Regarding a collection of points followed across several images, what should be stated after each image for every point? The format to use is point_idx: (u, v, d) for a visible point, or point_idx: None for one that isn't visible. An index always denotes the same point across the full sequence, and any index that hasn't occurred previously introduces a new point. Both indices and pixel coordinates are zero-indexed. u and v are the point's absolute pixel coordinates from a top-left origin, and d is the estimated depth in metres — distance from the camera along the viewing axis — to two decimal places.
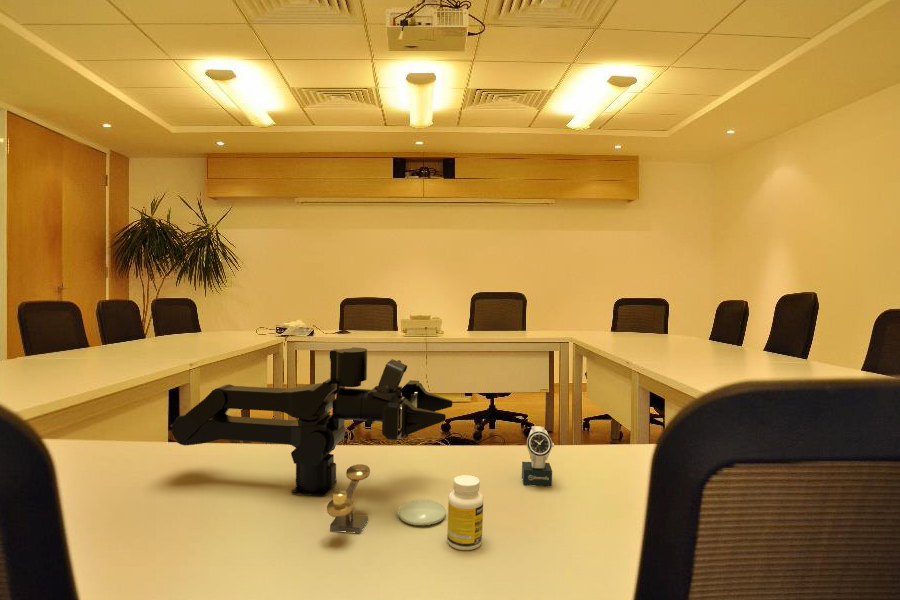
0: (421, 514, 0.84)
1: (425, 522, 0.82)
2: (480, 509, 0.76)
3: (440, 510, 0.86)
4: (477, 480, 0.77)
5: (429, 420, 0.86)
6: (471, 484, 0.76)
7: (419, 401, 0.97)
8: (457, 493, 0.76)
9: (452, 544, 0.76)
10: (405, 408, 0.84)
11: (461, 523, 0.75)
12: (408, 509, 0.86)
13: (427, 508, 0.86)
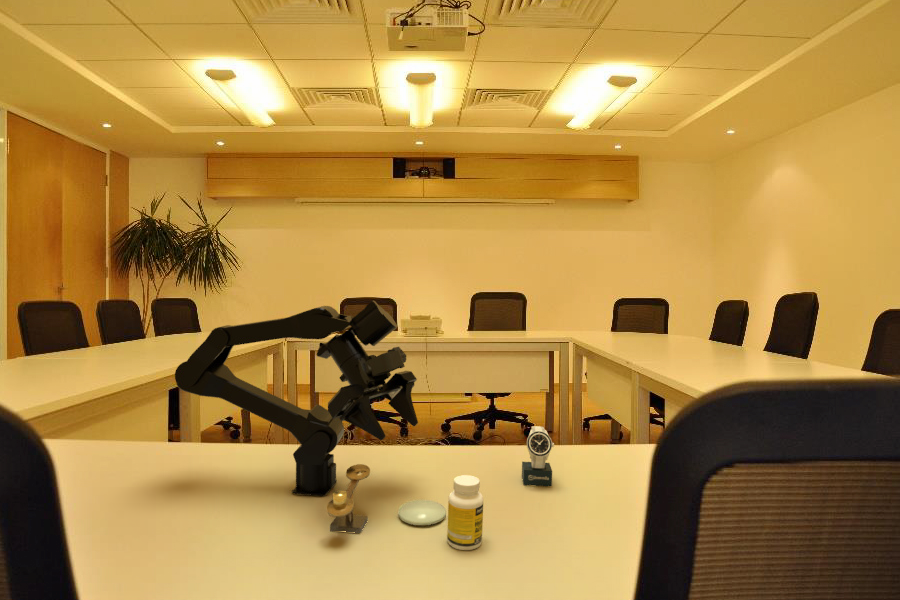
0: (421, 514, 0.84)
1: (425, 522, 0.82)
2: (480, 509, 0.76)
3: (440, 510, 0.86)
4: (477, 480, 0.77)
5: (370, 428, 0.84)
6: (471, 484, 0.76)
7: (397, 396, 0.94)
8: (457, 493, 0.76)
9: (452, 544, 0.76)
10: (356, 404, 0.83)
11: (461, 523, 0.75)
12: (408, 509, 0.86)
13: (427, 508, 0.86)
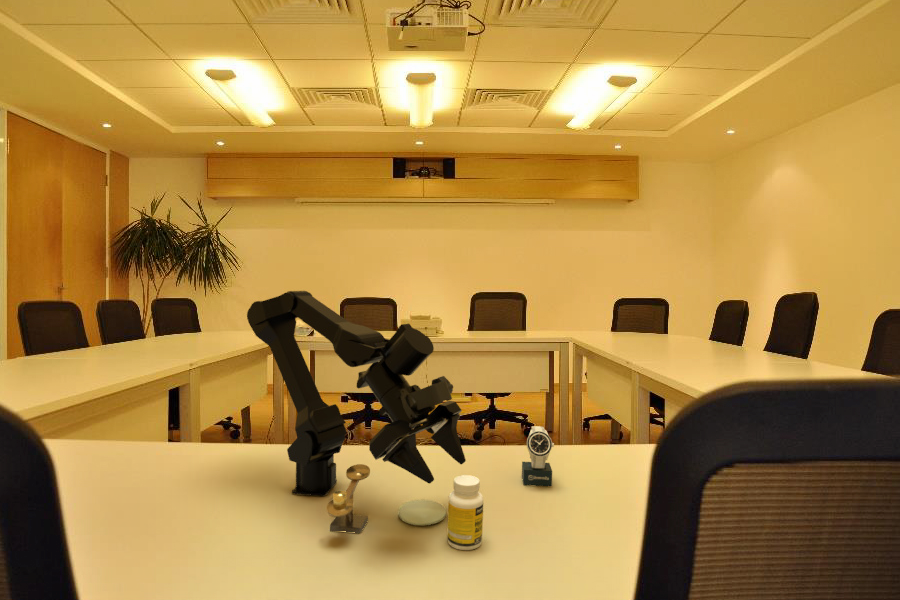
0: (421, 514, 0.84)
1: (425, 522, 0.82)
2: (480, 509, 0.76)
3: (440, 510, 0.86)
4: (477, 480, 0.77)
5: (416, 470, 0.75)
6: (471, 484, 0.76)
7: (441, 430, 0.86)
8: (457, 493, 0.76)
9: (452, 544, 0.76)
10: (402, 444, 0.74)
11: (461, 523, 0.75)
12: (408, 509, 0.86)
13: (427, 508, 0.86)
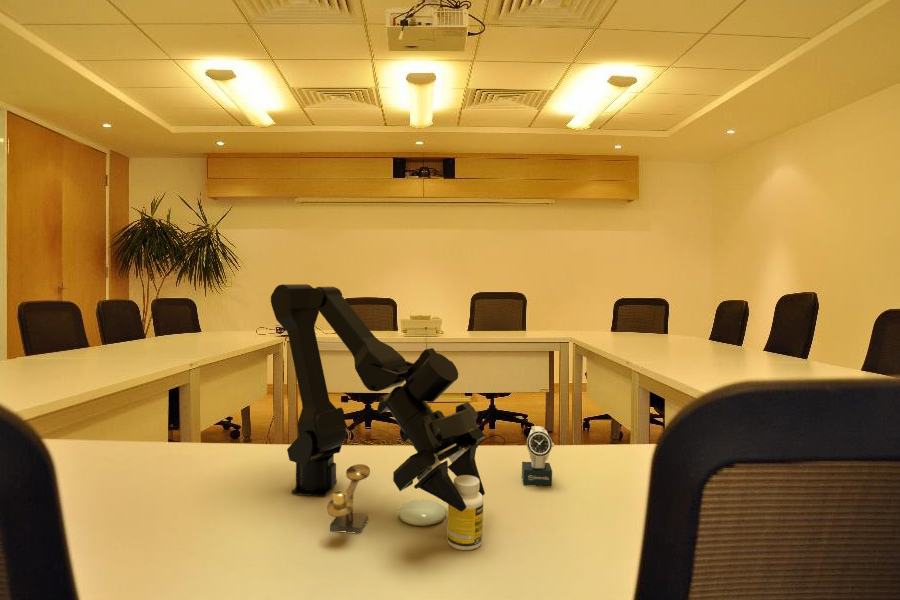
0: (421, 514, 0.84)
1: (425, 522, 0.82)
2: (480, 509, 0.76)
3: (440, 510, 0.86)
4: (477, 480, 0.77)
5: (448, 497, 0.75)
6: (471, 484, 0.76)
7: (459, 460, 0.82)
8: None
9: (452, 544, 0.76)
10: (434, 472, 0.73)
11: (461, 523, 0.75)
12: (408, 509, 0.86)
13: (427, 508, 0.86)
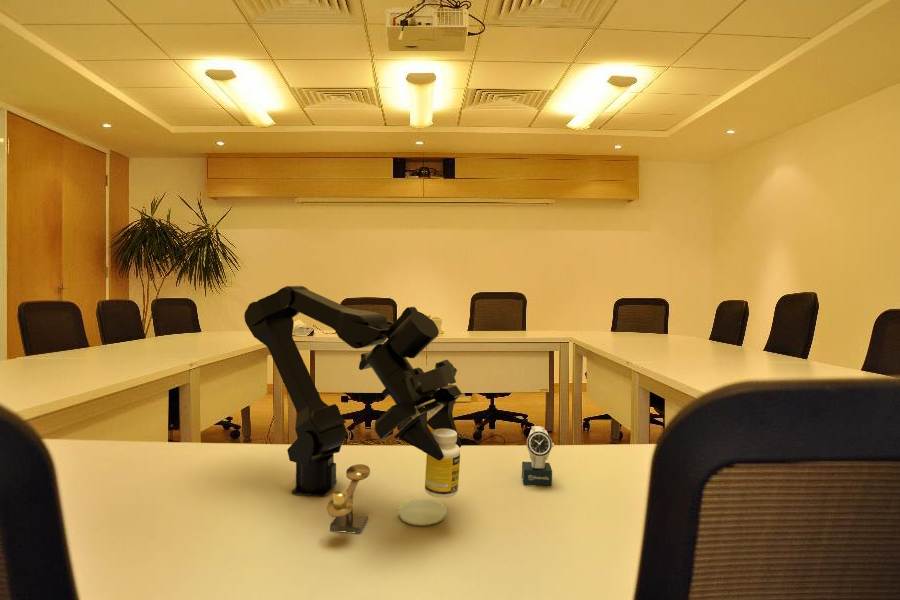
0: (421, 514, 0.84)
1: (425, 522, 0.82)
2: (457, 459, 0.80)
3: (440, 510, 0.86)
4: (455, 432, 0.81)
5: (427, 447, 0.78)
6: (449, 435, 0.79)
7: (437, 415, 0.85)
8: None
9: (430, 492, 0.79)
10: (414, 422, 0.76)
11: (438, 472, 0.79)
12: (408, 509, 0.86)
13: (427, 508, 0.86)
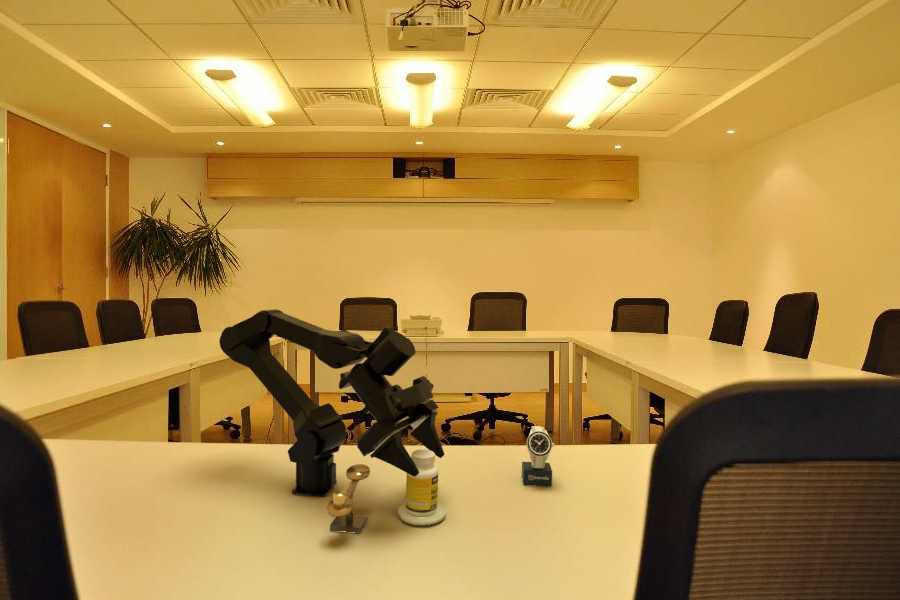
0: None
1: (425, 522, 0.82)
2: (436, 479, 0.84)
3: (440, 510, 0.86)
4: (433, 453, 0.86)
5: (402, 464, 0.81)
6: (428, 456, 0.84)
7: (420, 427, 0.91)
8: None
9: (410, 511, 0.84)
10: (390, 441, 0.79)
11: (418, 492, 0.83)
12: None
13: None
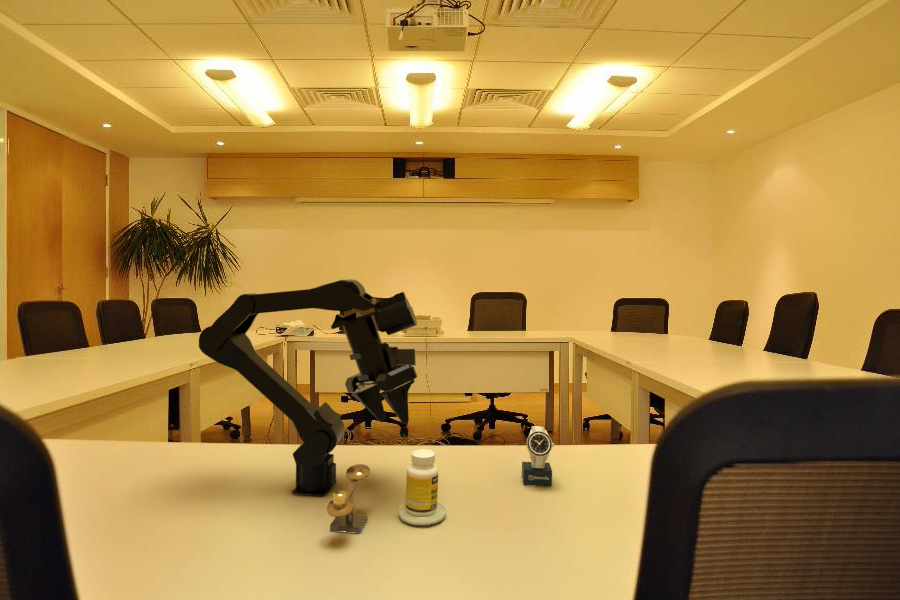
0: None
1: (425, 522, 0.82)
2: (436, 478, 0.84)
3: (440, 510, 0.86)
4: (433, 453, 0.86)
5: (401, 409, 0.90)
6: (428, 456, 0.84)
7: (370, 390, 0.98)
8: (415, 465, 0.84)
9: (410, 511, 0.84)
10: (411, 384, 0.89)
11: (419, 492, 0.83)
12: None
13: None
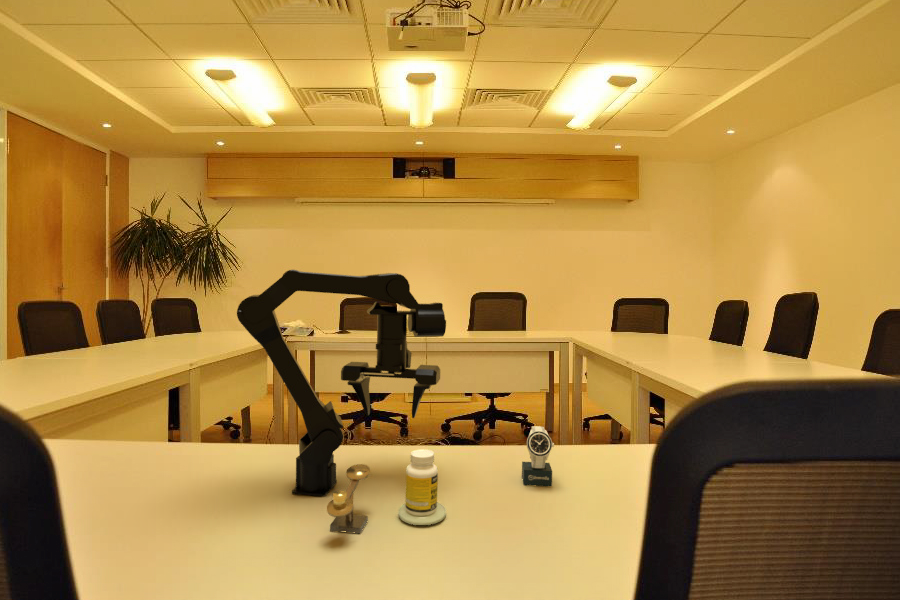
0: None
1: (425, 522, 0.82)
2: (435, 478, 0.84)
3: (440, 510, 0.86)
4: (432, 452, 0.86)
5: (418, 405, 0.98)
6: (427, 456, 0.84)
7: (365, 382, 0.99)
8: (414, 465, 0.84)
9: (410, 511, 0.84)
10: None
11: (418, 492, 0.83)
12: None
13: None
